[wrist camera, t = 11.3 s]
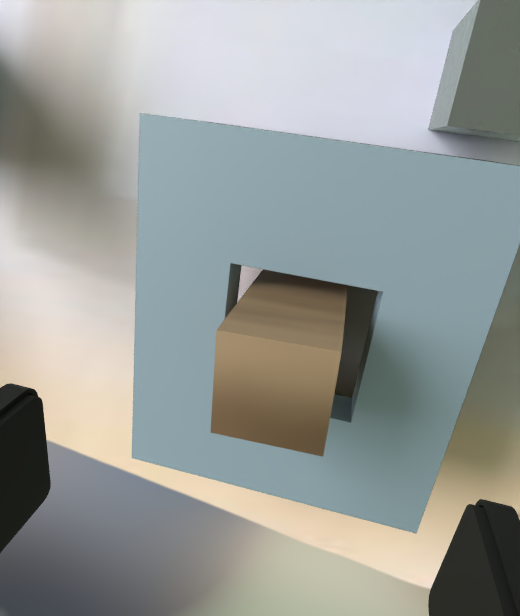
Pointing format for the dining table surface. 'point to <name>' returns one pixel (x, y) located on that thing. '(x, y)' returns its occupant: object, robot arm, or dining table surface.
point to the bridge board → (328, 267)
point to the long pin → (279, 362)
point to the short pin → (482, 74)
